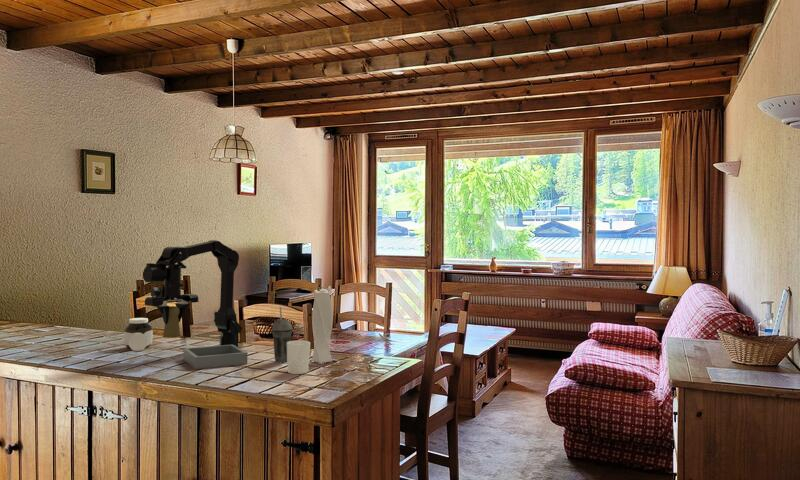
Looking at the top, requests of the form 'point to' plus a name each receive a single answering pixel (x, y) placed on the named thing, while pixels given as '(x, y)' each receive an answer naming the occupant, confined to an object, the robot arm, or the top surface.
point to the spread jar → (138, 334)
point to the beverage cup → (281, 338)
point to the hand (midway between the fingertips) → (172, 323)
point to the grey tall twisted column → (322, 325)
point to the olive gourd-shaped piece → (172, 323)
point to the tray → (215, 356)
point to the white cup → (298, 356)
